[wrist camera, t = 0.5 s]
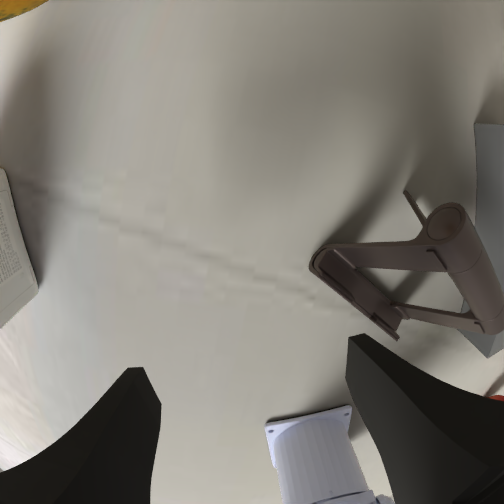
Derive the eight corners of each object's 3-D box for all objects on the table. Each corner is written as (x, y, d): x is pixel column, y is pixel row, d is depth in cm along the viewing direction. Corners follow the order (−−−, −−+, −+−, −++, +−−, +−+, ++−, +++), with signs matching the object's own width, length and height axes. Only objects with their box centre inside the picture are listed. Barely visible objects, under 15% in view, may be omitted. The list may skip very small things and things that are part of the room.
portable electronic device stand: (302, 261, 17) (357, 347, 9) (383, 164, 15) (485, 184, 8) (382, 326, 20) (439, 402, 12) (447, 248, 18) (526, 296, 10)
